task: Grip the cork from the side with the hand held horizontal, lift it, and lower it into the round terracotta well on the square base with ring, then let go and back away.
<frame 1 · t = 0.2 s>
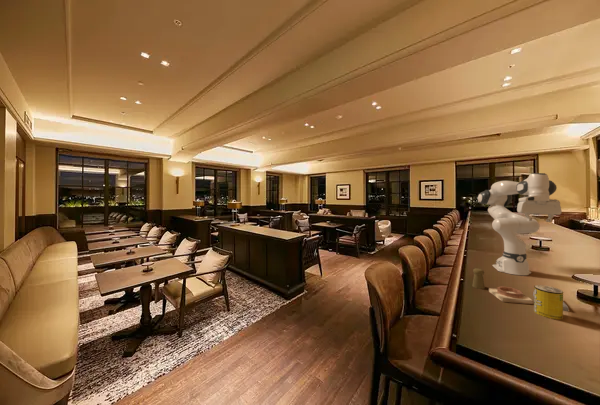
hand: (538, 221, 138), 39 cm above the bar counter, tool pointing down, fingers open, 8 cm apart
cork: (478, 287, 137), on the bar counter
yellow can: (547, 314, 105), on the bar counter
square base with ring: (509, 297, 122), on the bar counter
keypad: (549, 304, 116), on the bar counter
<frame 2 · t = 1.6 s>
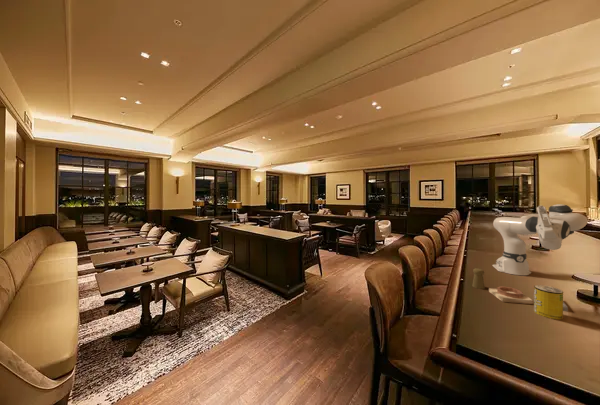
hand: (543, 212, 125), 46 cm above the bar counter, tool pointing upward, fingers open, 8 cm apart
nothing on the bar counter moved.
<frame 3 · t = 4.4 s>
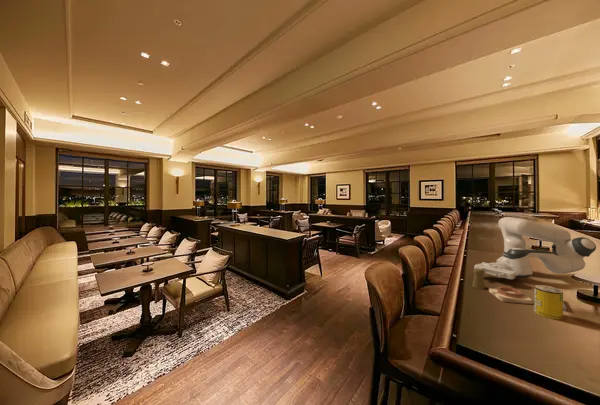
hand: (488, 273, 142), 6 cm above the bar counter, tool horizontal, fingers open, 8 cm apart
nothing on the bar counter moved.
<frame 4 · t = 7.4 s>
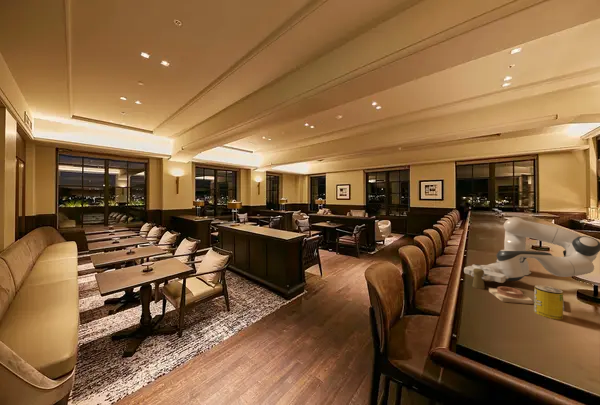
hand: (477, 276, 136), 7 cm above the bar counter, tool horizontal, fingers closed on cork, 4 cm apart
cork: (478, 287, 137), on the bar counter, touching gripper
everything else where it was.
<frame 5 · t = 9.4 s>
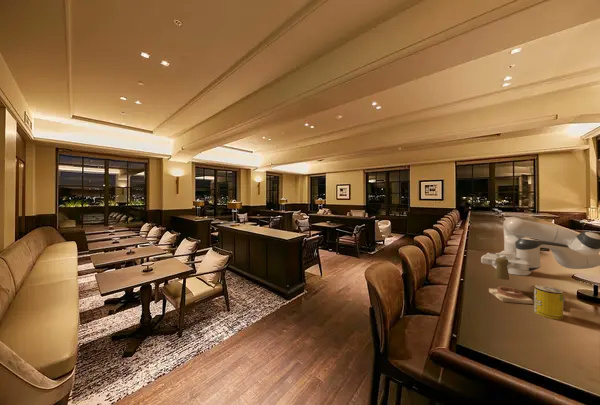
hand: (501, 265, 124), 17 cm above the bar counter, tool horizontal, fingers closed on cork, 4 cm apart
cork: (502, 278, 125), point 10 cm above the bar counter, touching gripper
when the fingers open (10 cm above the bar counter, at t = 11.8 s): cork stays where it is, resting on square base with ring.
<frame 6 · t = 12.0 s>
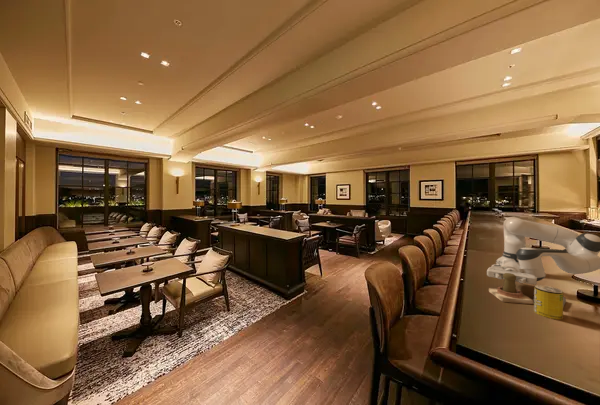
hand: (509, 279, 121), 10 cm above the bar counter, tool horizontal, fingers open, 7 cm apart
cork: (509, 294, 122), point 2 cm above the bar counter, touching square base with ring
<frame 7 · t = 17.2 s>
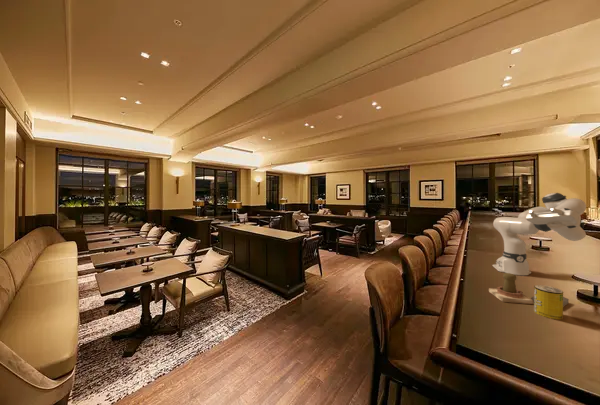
hand: (540, 210, 124), 47 cm above the bar counter, tool pointing upward, fingers open, 8 cm apart
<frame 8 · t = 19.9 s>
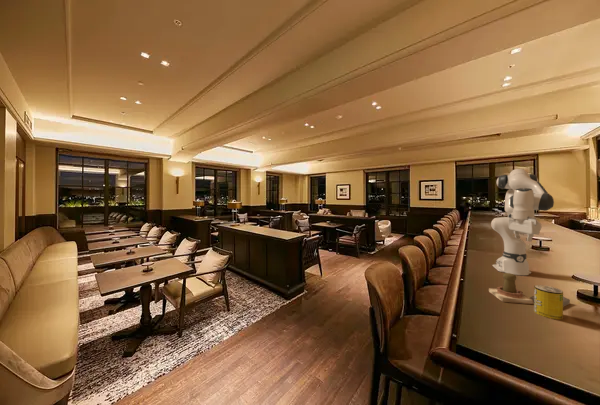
hand: (523, 239, 132), 29 cm above the bar counter, tool pointing down, fingers open, 8 cm apart
at the end: cork 0.1 cm off-centre on the square base with ring, point 1.8 cm above the square base with ring's base; cork tilted 0°; the gripper is holding nothing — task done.
